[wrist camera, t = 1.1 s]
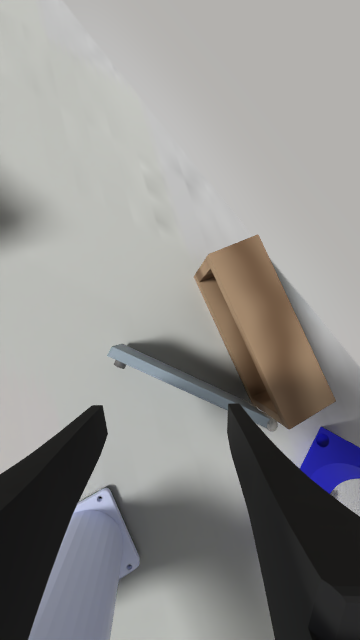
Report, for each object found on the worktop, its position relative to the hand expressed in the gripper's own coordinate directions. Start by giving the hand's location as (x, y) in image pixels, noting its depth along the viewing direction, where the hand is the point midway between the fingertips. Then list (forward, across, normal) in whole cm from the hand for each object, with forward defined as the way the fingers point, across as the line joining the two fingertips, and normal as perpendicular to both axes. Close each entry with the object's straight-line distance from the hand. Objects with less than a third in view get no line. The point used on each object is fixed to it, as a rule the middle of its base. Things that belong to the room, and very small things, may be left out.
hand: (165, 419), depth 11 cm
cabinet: (+12, -8, -1) cm, 14 cm away
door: (+9, -1, +3) cm, 10 cm away
